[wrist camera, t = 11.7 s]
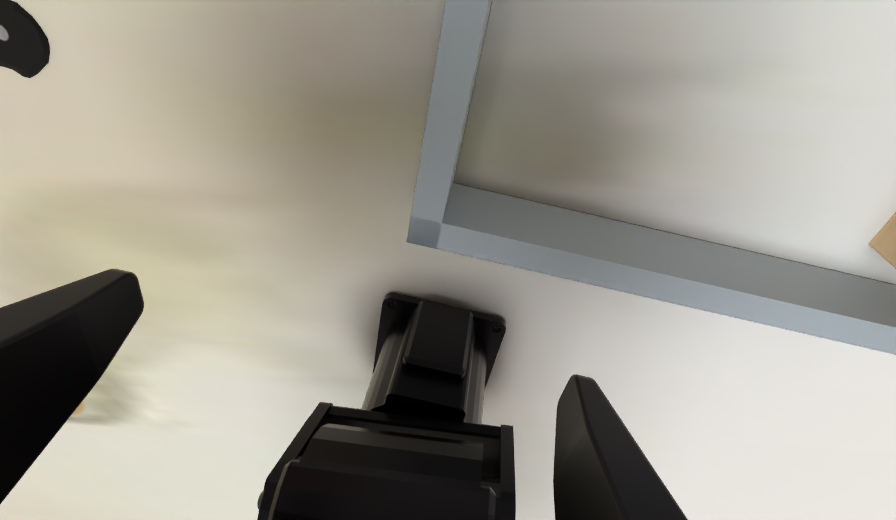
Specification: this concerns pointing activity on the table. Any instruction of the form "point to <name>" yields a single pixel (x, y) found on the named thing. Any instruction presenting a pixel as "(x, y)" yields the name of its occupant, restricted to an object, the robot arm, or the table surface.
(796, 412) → the table surface
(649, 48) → the table surface
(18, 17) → the cleaver
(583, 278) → the cubby
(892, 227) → the wooden plank block
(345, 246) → the table surface
